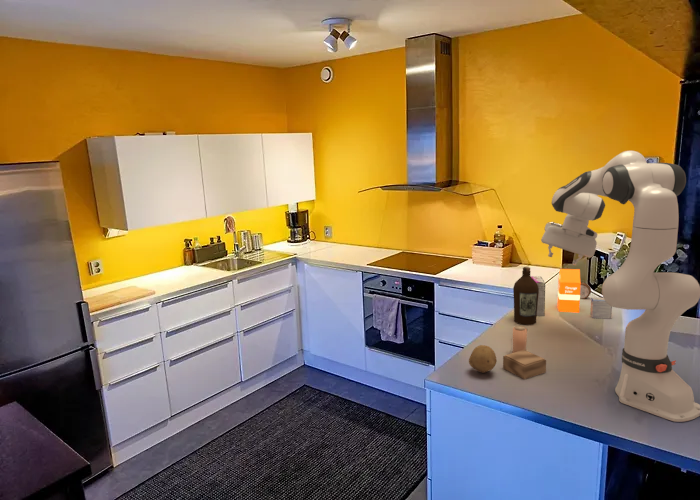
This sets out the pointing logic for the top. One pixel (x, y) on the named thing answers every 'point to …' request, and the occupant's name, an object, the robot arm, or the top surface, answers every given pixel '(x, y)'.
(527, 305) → the olive oil
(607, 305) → the medicine box
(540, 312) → the candy bar box
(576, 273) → the orange juice
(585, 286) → the tin
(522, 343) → the terracotta jar
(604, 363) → the top surface
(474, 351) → the natural sponge
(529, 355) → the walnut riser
